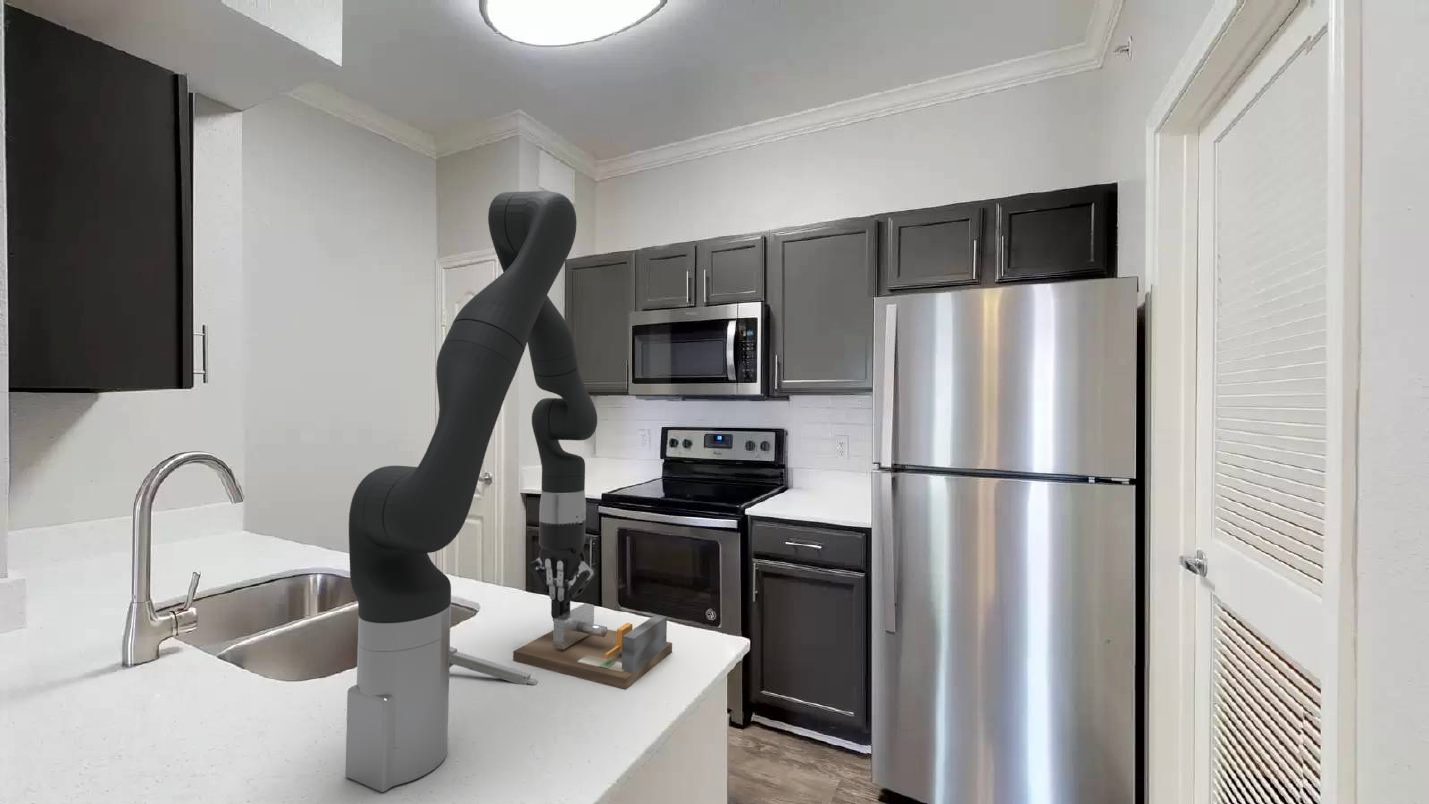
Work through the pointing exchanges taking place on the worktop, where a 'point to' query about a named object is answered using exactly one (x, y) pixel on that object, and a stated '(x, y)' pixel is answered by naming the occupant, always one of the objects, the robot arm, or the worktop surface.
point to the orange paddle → (619, 639)
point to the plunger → (576, 626)
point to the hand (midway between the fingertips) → (560, 621)
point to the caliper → (490, 668)
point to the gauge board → (603, 654)
